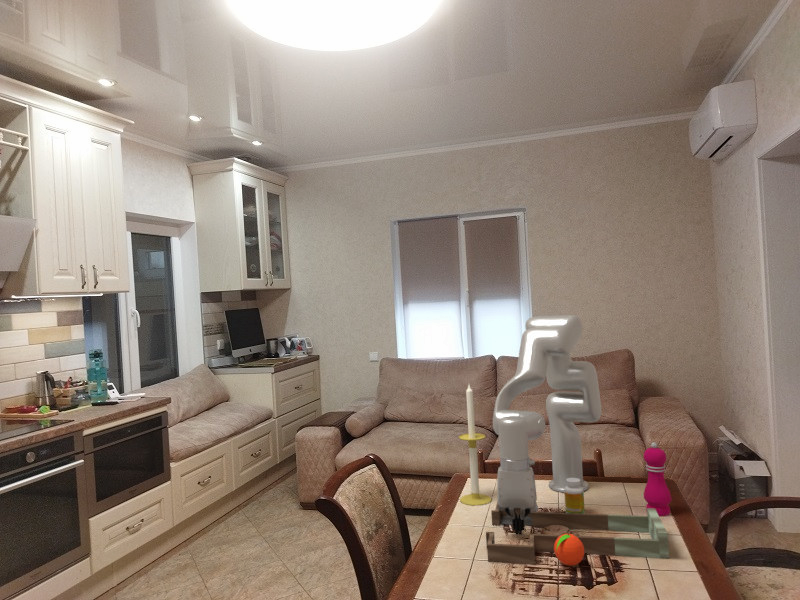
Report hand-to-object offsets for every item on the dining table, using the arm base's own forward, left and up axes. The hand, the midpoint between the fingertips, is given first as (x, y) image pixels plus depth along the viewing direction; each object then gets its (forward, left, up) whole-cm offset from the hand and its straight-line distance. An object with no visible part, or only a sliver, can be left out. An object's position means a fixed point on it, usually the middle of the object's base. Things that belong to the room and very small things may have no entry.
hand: (518, 532), depth 149 cm
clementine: (+14, +12, -2) cm, 19 cm away
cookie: (0, +10, -2) cm, 10 cm away
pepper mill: (-22, +38, -2) cm, 44 cm away
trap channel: (0, +14, -1) cm, 14 cm away
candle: (-27, -15, -2) cm, 31 cm away
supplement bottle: (-19, +15, -2) cm, 24 cm away
